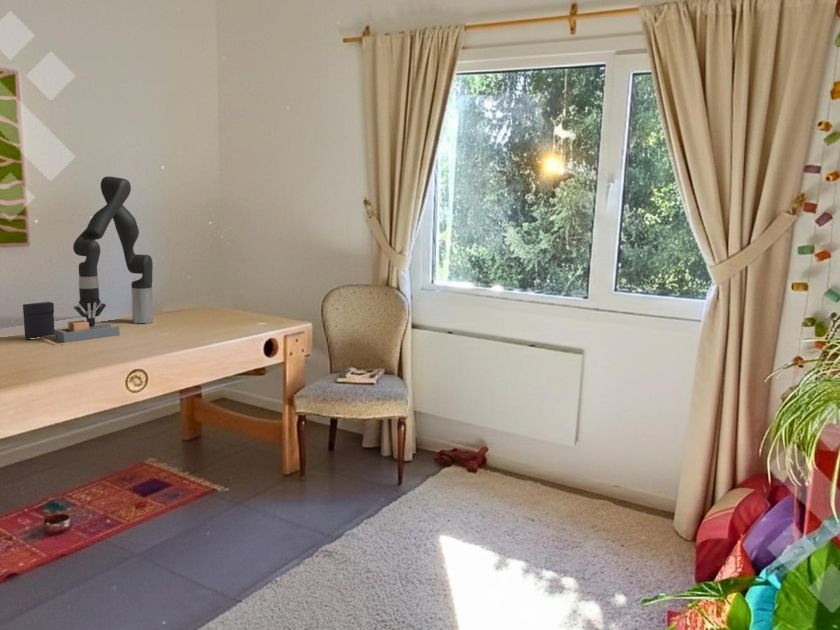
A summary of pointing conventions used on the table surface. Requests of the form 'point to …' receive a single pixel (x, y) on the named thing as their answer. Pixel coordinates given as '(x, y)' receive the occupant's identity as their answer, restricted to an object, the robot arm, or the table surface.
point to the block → (78, 326)
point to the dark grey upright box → (38, 319)
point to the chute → (87, 333)
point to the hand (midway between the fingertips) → (91, 326)
